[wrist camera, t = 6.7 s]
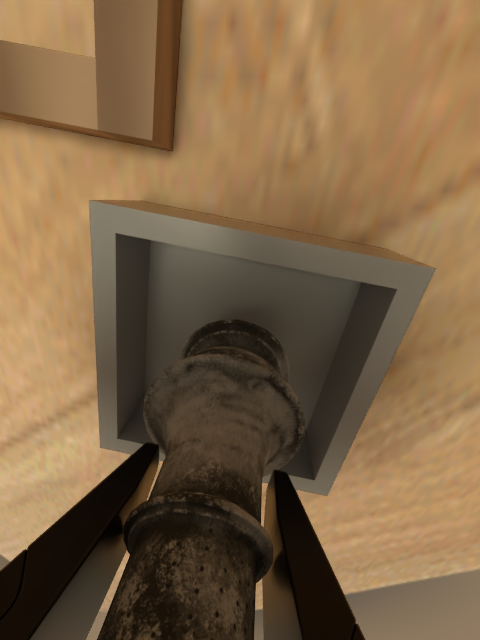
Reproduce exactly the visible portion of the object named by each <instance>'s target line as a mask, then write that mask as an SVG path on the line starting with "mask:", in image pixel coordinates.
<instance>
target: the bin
mask: <svg viewBox="0 0 480 640" xmlns="http://www.w3.org/2000/svg"><path fill="white" fill-rule="evenodd" d="M89 211H90V233H91V255H92V278H93V300H94V323H95V345H96V367H97V390H98V412H99V434H100V448H104V449H108V450H113V451H118V452H122V453H127V454H133V453H135V452H136V451H137V450H138V449H139V448H140V447H141V446H142V445H144V444H145V443H147V442H150V443H154V442H153V441H152V439H151V437H150V435H149V434H148V432H147V429H146V425H145V421H144V417H143V409H144V398H145V396H146V394H147V392H148V390H149V387H150V385H151V383H152V382H153V381H154V380H155V379H156V378H157V376H158V375H159V374H160V373H161V372H162V371H163V370H164V369H165V368H167V367H169V366H171V365H173V364H174V363H176V362H178V361H179V360H180V353H181V351H182V349H183V346H184V344H185V342H186V340H187V339H188V338H189V337H190V336H191V335H192V334H193V333H194V332H195V331H196V330H198V329H199V328H201V327H203V326H204V325H206V324H208V323H212V322H215V321H219V320H236V319H238V320H242V321H246V322H251V323H254V324H256V325H258V326H260V327H262V328H264V329H266V330H267V331H269V332H270V333H271V334H272V335H273V336H274V337H275V338H277V339H278V340H279V342H280V344H281V345H282V347H283V348H284V350H285V351H286V354H287V357H288V361H289V364H290V372H289V381H288V384H289V385H290V387H291V388H292V390H293V391H294V392H295V394H296V395H297V397H298V398H299V400H300V403H301V406H302V409H303V413H304V416H305V434H304V438H303V441H302V443H301V445H300V448H299V450H298V452H297V453H296V454H295V455H294V456H293V458H292V459H291V460H290V461H289V462H288V463H287V464H286V465H285V466H283V467H281V468H280V469H278V470H281V471H285V472H287V474H288V475H289V477H290V479H291V482H292V484H293V486H294V488H295V489H296V490H301V491H305V492H310V493H315V494H319V495H324V496H327V495H328V493H329V491H330V489H331V487H332V485H333V483H334V481H335V479H336V476H337V474H338V472H339V470H340V468H341V466H342V464H343V462H344V460H345V458H346V456H347V453H348V451H349V449H350V447H351V445H352V443H353V441H354V439H355V437H356V435H357V433H358V430H359V428H360V426H361V424H362V422H363V420H364V418H365V416H366V414H367V412H368V410H369V407H370V405H371V403H372V401H373V399H374V397H375V395H376V393H377V391H378V389H379V387H380V384H381V382H382V380H383V378H384V376H385V374H386V372H387V370H388V368H389V366H390V364H391V361H392V359H393V357H394V355H395V353H396V351H397V349H398V347H399V345H400V343H401V341H402V338H403V336H404V334H405V332H406V330H407V328H408V326H409V324H410V322H411V320H412V318H413V315H414V313H415V311H416V309H417V307H418V305H419V303H420V301H421V299H422V297H423V295H424V292H425V290H426V288H427V286H428V284H429V282H430V280H431V278H432V276H433V274H434V272H435V268H433V267H430V266H428V265H425V264H423V263H420V262H418V261H415V260H413V259H410V258H408V257H405V256H403V255H400V254H398V253H395V252H393V251H390V250H388V249H384V248H379V247H373V246H368V245H363V244H358V243H353V242H348V241H343V240H338V239H333V238H328V237H323V236H318V235H313V234H308V233H302V232H297V231H292V230H287V229H282V228H277V227H272V226H267V225H262V224H257V223H252V222H247V221H242V220H236V219H231V218H226V217H221V216H216V215H211V214H206V213H201V212H196V211H191V210H186V209H181V208H176V207H170V206H165V205H160V204H155V203H150V202H145V201H124V200H89ZM165 457H166V456H165V455H164V454H163V453H162V452H161V451H160V452H159V460H160V461H164V460H165ZM270 477H271V474H270V475H267V476H264V477H263V478H262V482H263V483H269V480H270Z"/></svg>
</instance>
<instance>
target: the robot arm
mask: <svg viewBox="0 0 480 640" xmlns="http://www.w3.org/2000/svg"><path fill="white" fill-rule="evenodd" d="M159 452H160V446H159V445H158V444H155V443H150V442H147V443H145V444H144V445H142V446H141V447H140V448H139V449H138V450H137V451H136V452H135V453H133V454H132V455H131V456H130V457H129V458H128V459H127V460H125V461H124V462H123V463H122V464H121V465H120V466H119V467H118V468H116V469H115V470H114V471H113V472H112V473H111V474H110V475H108V476H107V477H106V478H105V479H104V480H103V481H102V482H101V483H99V484H98V485H97V486H96V487H95V488H94V489H93V490H91V491H90V492H89V493H88V494H87V495H86V496H85V497H84V498H82V499H81V500H80V501H79V502H78V503H77V504H76V505H74V506H73V507H72V508H71V509H70V510H69V511H68V512H67V513H65V514H64V515H63V516H62V517H61V518H60V519H59V520H57V521H56V522H55V523H54V524H53V525H52V526H51V527H50V528H48V529H47V530H46V531H45V532H44V533H43V534H42V535H40V536H39V537H38V538H37V539H36V540H35V541H34V542H33V543H31V544H30V545H29V546H28V548H27V550H26V549H25V550H23V551H22V552H21V553H20V554H19V555H18V556H16V557H15V558H14V559H13V560H12V561H11V562H10V563H9V564H8V565H6V566H5V567H4V568H3V569H2V570H0V640H86V638H87V636H88V633H89V631H90V629H91V627H92V625H93V622H94V620H95V618H96V616H97V614H98V612H99V609H100V607H101V605H102V603H103V601H104V598H105V596H106V594H107V592H108V590H109V588H110V585H111V583H112V581H113V579H114V577H115V574H116V572H117V570H118V568H119V566H120V564H121V561H122V559H123V557H124V555H125V553H126V550H127V548H126V545H125V543H124V540H123V526H124V524H125V522H126V520H127V518H128V516H129V514H130V512H131V511H132V510H134V509H135V508H136V507H137V506H138V505H140V504H141V503H142V502H145V501H146V500H147V498H148V495H149V492H150V489H151V486H152V483H153V480H154V477H155V474H156V471H157V468H158V464H159ZM264 529H265V530H266V531H267V532H268V535H269V537H270V539H271V541H272V544H273V563H272V565H271V567H270V570H269V572H268V573H267V574H266V575H265V576H264V577H263V578H262V585H263V627H264V640H365V638H364V636H363V634H362V631H361V630H360V627H359V625H358V624H355V623H356V619H355V617H354V615H353V612H352V610H351V608H350V606H349V604H348V602H347V600H346V597H345V595H344V593H343V591H342V589H341V587H340V585H339V582H338V580H337V578H336V576H335V574H334V572H333V569H332V567H331V565H330V563H329V561H328V559H327V557H326V554H325V552H324V550H323V548H322V546H321V544H320V542H319V539H318V537H317V535H316V533H315V531H314V529H313V527H312V524H311V522H310V520H309V518H308V516H307V514H306V512H305V509H304V507H303V505H302V503H301V501H300V499H299V497H298V494H297V492H296V490H295V488H294V486H293V484H292V482H291V479H290V477H289V475H288V474H287V472H285V471H281V470H276V469H275V470H273V472H272V474H271V477H270V480H269V483H268V487H267V492H266V504H265V517H264Z"/></svg>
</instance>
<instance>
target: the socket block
mask: <svg viewBox="0 0 480 640" xmlns="http://www.w3.org/2000/svg"><path fill="white" fill-rule="evenodd" d="M181 12H182V0H94V21H95V55H96V58H92V57H87V56H82V55H76V54H71V53H66V52H60V51H55V50H50V49H44V48H39V47H34V46H29V45H23V44H18V43H13V42H7V41H2V40H0V118H4V119H9V120H14V121H19V122H25V123H30V124H35V125H40V126H45V127H50V128H56V129H61V130H66V131H71V132H76V133H81V134H87V135H92V136H97V137H102V138H107V139H112V140H118V141H123V142H128V143H133V144H138V145H143V146H149V147H154V148H159V149H164V150H169V151H172V149H173V134H174V118H175V103H176V88H177V73H178V57H179V42H180V27H181Z"/></svg>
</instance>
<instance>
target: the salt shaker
mask: <svg viewBox="0 0 480 640" xmlns="http://www.w3.org/2000/svg"><path fill="white" fill-rule="evenodd" d="M289 372H290V364H289V361H288V357H287V354H286V351H285V350H284V348H283V347H282V345H281V344H280V342H279V340H278V339H277V338H275V337H274V336H273V335H272V334H271V333H270V332H269V331H267V330H266V329H264V328H262V327H260V326H258V325H256V324H254V323H251V322H246V321H242V320H238V319H236V320H219V321H215V322H212V323H208V324H206V325H204V326H203V327H201V328H199V329H198V330H196V331H195V332H194V333H193V334H192V335H191V336H190V337H189V338H188V339H187V340H186V342H185V344H184V346H183V349H182V351H181V353H180V360H179V361H178V362H176V363H174V364H173V365H171V366H169V367H167V368H165V369H164V370H163V371H162V372H161V373H160V374H159V375H158V376H157V378H156V379H155V380H154V381H153V382H152V383H151V385H150V387H149V390H148V392H147V394H146V396H145V398H144V409H143V417H144V421H145V425H146V429H147V432H148V434H149V435H150V437H151V439H152V441H153V442H154V443H155V444H158V445H159V446H160V451H161V452H162V453H163V454H164V455H165V456H166V457H165V460H164V462H163V465H162V467H161V470H160V472H159V475H158V477H157V480H156V482H155V485H154V487H153V490H152V492H151V495H150V497H149V500H147V501H145V502H142V503H141V504H140V505H138V506H137V507H136V508H135V509H134V510H132V511H131V512H130V514H129V516H128V518H127V520H126V522H125V524H124V526H123V540H124V543H125V545H126V548H127V551H128V553H129V554H130V557H129V559H128V562H127V564H126V567H125V569H124V572H123V575H122V577H121V580H120V582H119V585H118V587H117V590H116V593H115V595H114V598H113V600H112V603H111V605H110V608H109V610H108V613H107V616H106V618H105V621H104V623H103V626H102V628H101V631H100V634H99V636H98V639H97V640H254V620H255V619H254V618H255V590H256V583H257V582H258V581H259V580H261V579H262V578H263V577H264V576H265V575H266V574H267V573H268V572H269V570H270V567H271V565H272V563H273V544H272V541H271V539H270V537H269V535H268V532H267V531H266V530H265V529H264V528H263V527H262V526H261V495H262V478H263V477H264V476H267V475H270V474H272V472H273V470H275V469H276V470H278V469H280V468H281V467H283V466H285V465H286V464H287V463H288V462H289V461H290V460H291V459H292V458H293V456H294V455H295V454H296V453H297V452H298V450H299V448H300V445H301V443H302V441H303V438H304V434H305V416H304V413H303V409H302V406H301V403H300V400H299V398H298V397H297V395H296V394H295V392H294V391H293V390H292V388H291V387H290V385H289V384H288V381H289Z"/></svg>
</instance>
